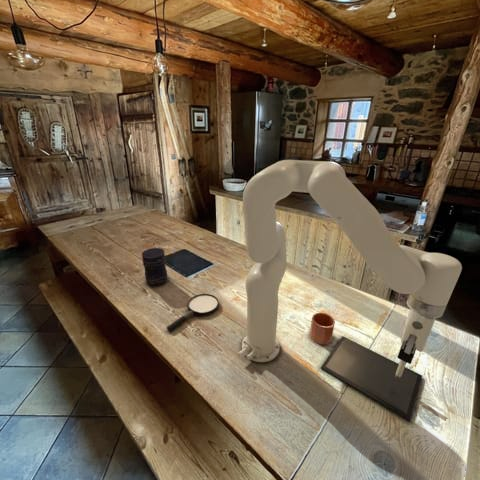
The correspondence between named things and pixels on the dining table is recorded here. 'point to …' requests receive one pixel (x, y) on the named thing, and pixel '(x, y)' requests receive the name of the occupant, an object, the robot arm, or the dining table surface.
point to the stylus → (400, 369)
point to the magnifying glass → (197, 308)
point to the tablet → (374, 376)
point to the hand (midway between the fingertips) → (404, 357)
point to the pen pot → (322, 328)
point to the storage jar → (154, 267)
